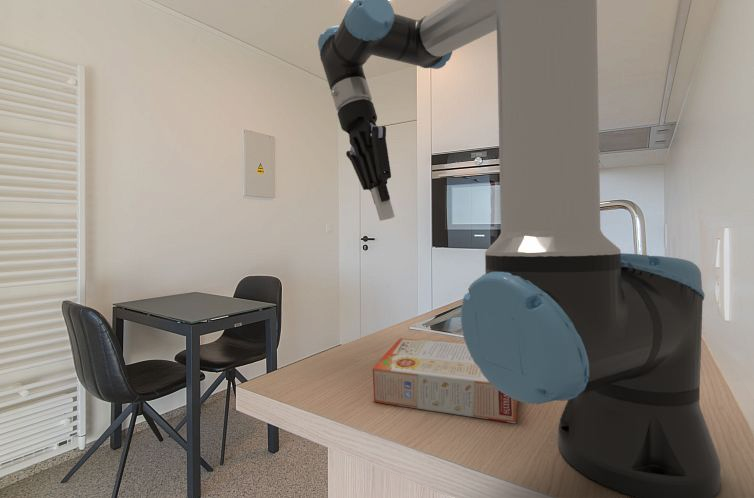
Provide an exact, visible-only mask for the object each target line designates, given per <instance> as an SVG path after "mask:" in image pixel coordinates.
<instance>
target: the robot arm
mask: <svg viewBox="0 0 754 498" xmlns="http://www.w3.org/2000/svg"><path fill="white" fill-rule="evenodd" d="M597 3H598V2H597V0H447V1H446V2H444V3H442V5H440V6H439V7H436V8H435V9H434V10H432V11H431V12H430V13H429V14H427V15H425V16H423V17H422V18H421V19H414V18H410V17H406V16H404V15H400V14H397V13H395V11H394V8H393V6H392V4H391V3H390V1H389V0H353V1H352V2H351V4H350V6H348V8H347V10H346V11H345V14H344V17H343V19H342V21H341V22H340V24H339V25H332V26H330V27H328V28H326V30H325V31H323V32H321V34H320V35H319V37H318V40H317V46H318V51H319V56H320V57H319V58H320V61H321V64H322V66H323V70H324V73H325V76H326V79H327V83H328V86H329V89H330V92H331V93H330V94H331V96H332V99H333V102H334V103H333V104H334V106H335V110H336V111H337V116H338V122H339V124H340V128H341V130H342V131H343V132H345V133H347V134H348V137H349V139H348V140H349V145H350V150H347V151H346V152H345V155H346V157H347V158H348V160H349V161H350V163H351V165H352V167H353V169H354V171H355V173H356V176H357V179H358V180H359V183H360V185H361V188H362V190H363V191H367V190H368V191H370V193H371V197H372V200H373V203H374V205H375V209H376V212H377V215H378V219H379V221H385V220H390V219H393V218H395V211H394V209H393V206H392V202H391V197H390V194H389V189H388V186H387V184H388V180H389V179H391V177H392V172H391V166H390V159H389V158H390V157H389V153H388V145H387V138H386V137H387V127H386V126H385V125H379V126H378V125H377V121H378V115H377V113H376V112H377V111H376V108H375V106H374V103H373V102H372V101H373V100H372V94H371V92H370V88H369V85H368V82H367V79H366V75H365V72H364V68H363V67H364V66H363V65H364V64H365V63H367V62H368V60H369V59H370V57H371V56H374V57H379V58H383V59H386V60H387V59H388V60H392V61H396V62H401V63H403V64H404V63H405V64H409V65H414V66H417V67H420V68H423V69H434V70H438V69H442V68H443V67H445V66H446V64H447V62H449V60H450V59H451V57H452V54H453V52H454V51H456V50H458V49H460V48H462V47H464V46H467V45H468V44H471V43H473V42H474V41H476V40H479V39H481V38H483V37H485V36H487V35H488V34H491V33H493V32H495V31H496V53H497V54H496V56H497V58H496V59H497V61H496V63H497V64H496V66H497V103H498V105H497V107H498V111H497V112H498V151H499V152H498V155H499V156H498V157H499V158H498V159H499V161H498V162H499V165H498V166H499V199H500V200H499V201H500V202H499V204H500V207H499V209H500V210H499V211H500V213H499V214H500V234H499V236H498V237H497V239H495V241H494V242H493V243H492V244H491V245H490V246H489V247H488V248H487V249H486V250H485V253H484V256H485V257H484V259H485V262H484V263H485V271H484V272H485V273H484V274H483V275H482V276H480V277H478V278H476V279H475V280H474V281H473V282H472V283H471V284H470V285H469V287H468V292H467V293H465V294H464V296H463V298H462V302H461V307H460V308H461V309H460V322H461V323H460V324H461V330H462V334H463V340H464V342H465V344H466V345H467V348H468V350H469V353H470V355H471V357H472V359H473V361H474V362H475V364H477V365H478V366H479V368H480V370H481V372H482V374H483V375H484V376H485V378H486V379H487V380H488V381H489V382H490V383H491V384H492V385H493V386H494V387H495V388H497V389H498V390H499V391H500V392H502V393H503V394H505V395H507V396H509V397H510V398H512V399H515V400H517V401H518V402H522V403H526V404H533V405H538V404H539V405H540V404H546V403H551V402H555V401H557V402H559V401H560V402H562V401H563V402H564V401H566V404H565V407H564V409H563V411H562V414H561V417H560V419H559V421H558V426H557V427H558V428H557V446H558V449H559V453H560V455H562V457H563V458H564V459H565V460H566V461H567V463H569V465H571V467H573V469H575V470H577V471H578V472H579V473H581V474H582V475H584V476H586V477H588V478H590V479H591V480H593V481H594V482H596V483H598V484H600V485H603V486H604V487H608V488H609V489H612V490H613V491H617V492H620V493H622V494H626V495H629V496H631V497H632V496H633V497H635V498H714V497H715V496H717V495H718V494H719V492H720V489H721V461H720V458H719V455H718V452H717V450H716V447H715V445H714V441H713V439H712V436H711V433H710V431H709V428H708V425H707V422H706V420H705V416H704V415H703V414H704V413H703V411H702V408H701V405H700V397H701V395H700V392H701V390H700V389H701V388H700V387H701V385H700V384H701V364H702V363H701V360H702V333H703V332H702V330H703V329H702V328H703V301H704V300H705V292H704V290H703V285H702V271H701V270H700V268H699V266H698V265H696V264H695V263H694V262H692V261H690V260H688V259H682V258H678V257H677V258H676V257H669V256H660V255H648V254H639V253H623V252H621V249H620V248H619V247H618V246H616V244H614V243H613V242H612V241H611V240H610V239H609V238H608V237H606V236H605V235H604V233H603V232H602V230H601V194H600V193H601V190H600V189H601V188H600V183H601V182H600V181H601V179H600V178H601V177H600V131H599V130H600V129H599V124H600V122H599V118H600V117H599V71H598V70H599V68H598V67H599V66H598V63H599V62H598V61H599V60H598V10H597V9H598V8H597V6H598V5H597Z"/></svg>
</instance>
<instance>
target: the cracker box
mask: <svg viewBox="0 0 754 498" xmlns="http://www.w3.org/2000/svg"><path fill="white" fill-rule="evenodd" d="M372 378H373V379H372V382H373V402H374V403H380V404H386V405H393V406H399V407H405V408H410V409H411V408H412V409H418V410H424V411H430V412H431V411H432V412H438V413H445V414H450V415H451V414H452V415H458V416H463V417H464V416H465V417H471V418H477V419H484V420H490V421H496V422H503V423H508V424H509V423H510V424H517V419H518V403H519V401H517V400H515V399H512V398H510V397H509V396H507V395H505V394H503V393H502V392H500V391H499V390H498V389H497V388H495V387H494V386H493V385H492V384H491V383H490V382H489V381H488V380H487V379H486V378H485V376H484V375H483V374H482V372H481V370H480V368H479V366H478V365H477V364H475V362H474V361H473V359H472V357H471V355H470V353H469V350H468V348H467V345H466V343H458V342H448V341H447V342H446V341H445V342H444V341H434V340H425V339H424V340H423V339H414V338H413V339H410V338H404V337H403V338H402V337H401V338H398V339H397V341H396V342H395V343H394V344H393V345H392V346H391V347H390V349H389V350H388V351H387V352H386V353H385V354H384V355H383V356H382V357H381V358H380V360H379V361H378V362H377V363H376V364H375V365H374V366H373V367H372Z"/></svg>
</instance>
